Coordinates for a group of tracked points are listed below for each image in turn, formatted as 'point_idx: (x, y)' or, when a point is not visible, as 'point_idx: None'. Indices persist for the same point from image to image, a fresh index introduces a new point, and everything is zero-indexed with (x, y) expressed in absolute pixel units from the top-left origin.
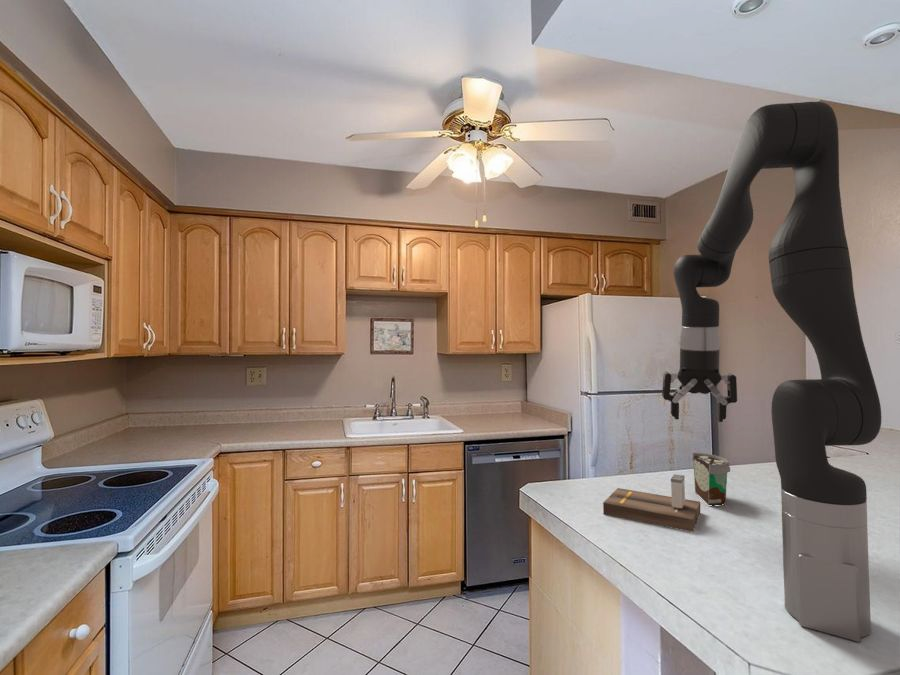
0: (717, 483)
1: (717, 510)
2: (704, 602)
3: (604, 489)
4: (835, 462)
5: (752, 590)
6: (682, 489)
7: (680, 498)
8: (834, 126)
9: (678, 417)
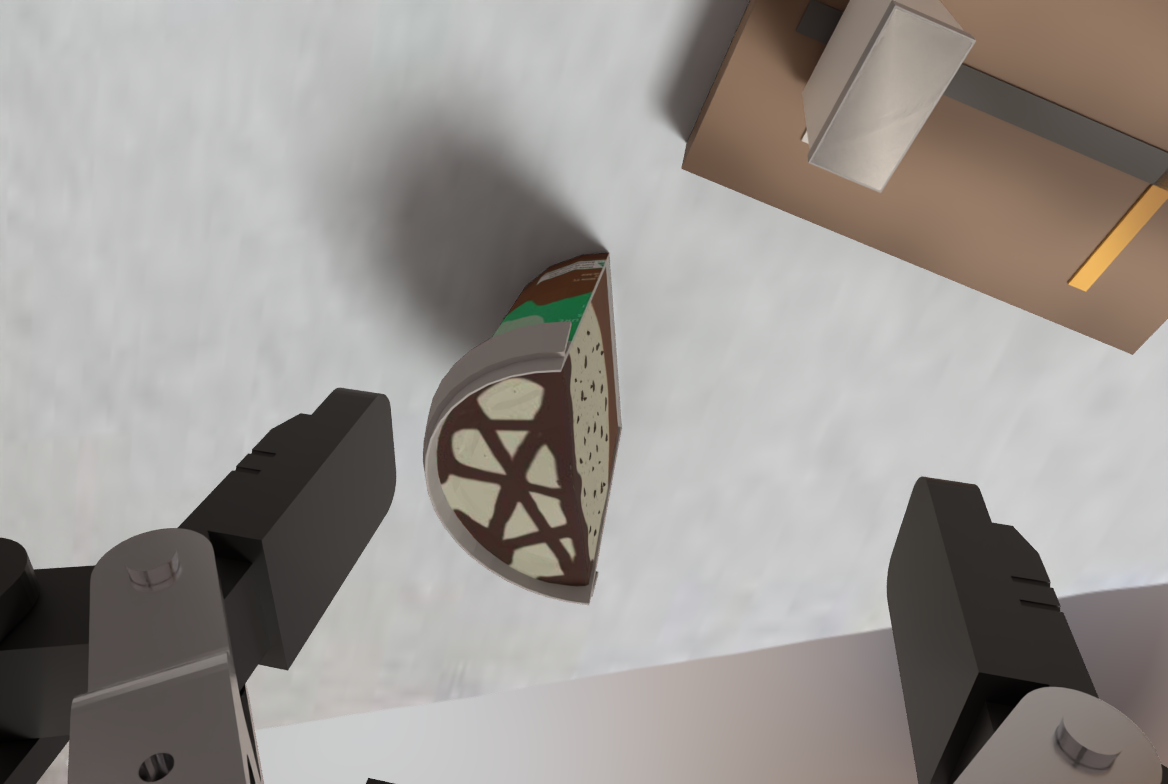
0: (535, 316)
1: (580, 199)
2: None
3: (1127, 444)
4: None
5: None
6: (859, 35)
7: None
8: None
9: (932, 490)
